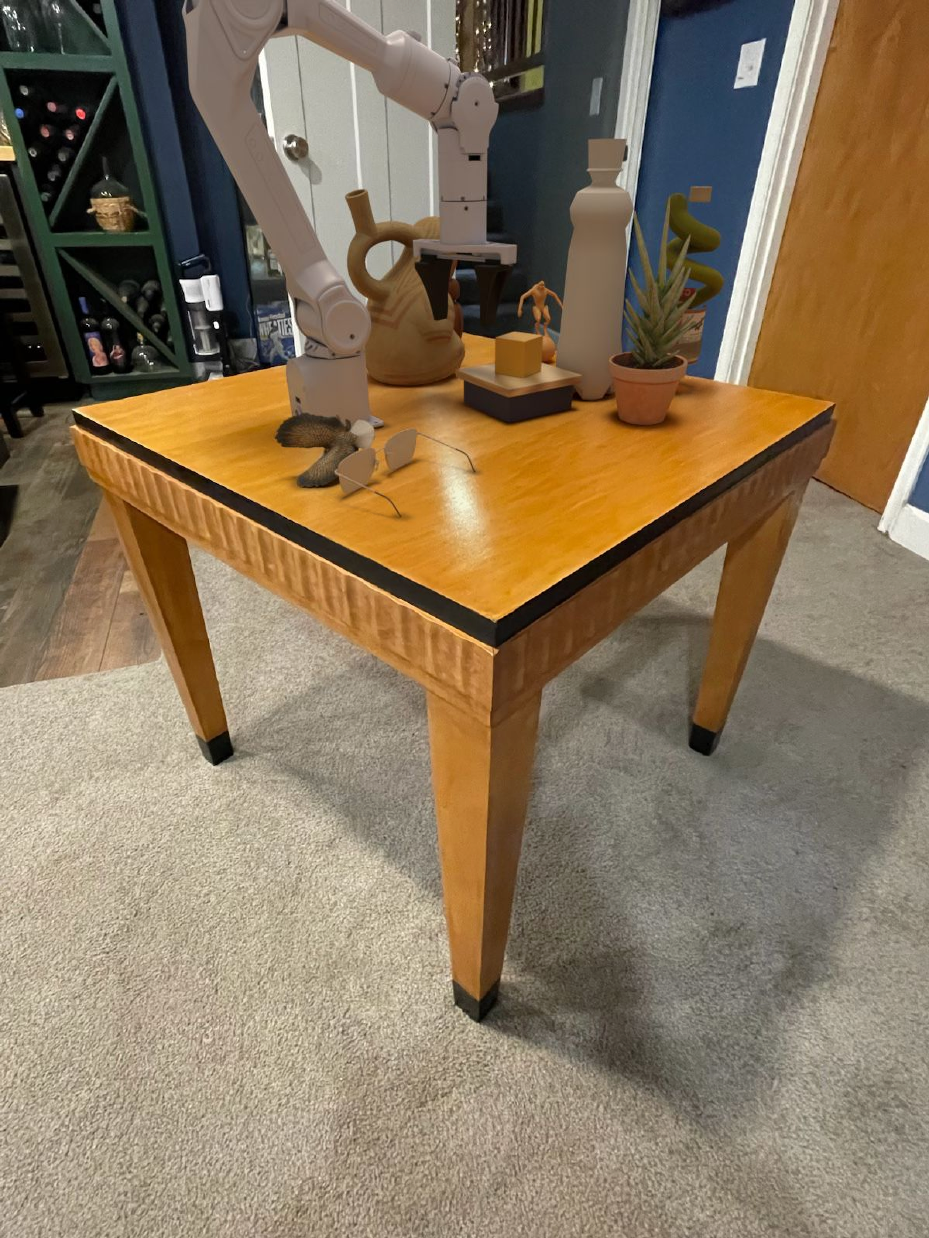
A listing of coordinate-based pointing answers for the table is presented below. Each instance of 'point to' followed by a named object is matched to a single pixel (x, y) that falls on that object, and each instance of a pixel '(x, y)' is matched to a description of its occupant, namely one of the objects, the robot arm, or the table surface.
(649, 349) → the potted plant
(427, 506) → the table surface
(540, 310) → the figurine
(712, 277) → the snake in a can
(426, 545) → the table surface
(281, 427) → the eagle figurine
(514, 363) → the block
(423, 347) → the ceramic vessel
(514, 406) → the box
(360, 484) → the eyeglasses
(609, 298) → the bottle
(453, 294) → the wooden figurine
